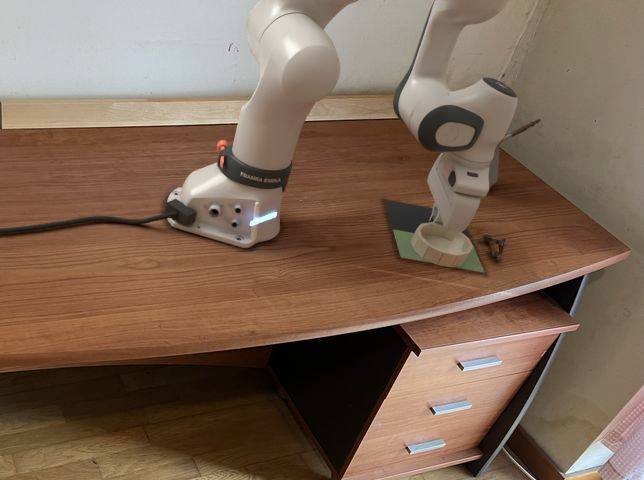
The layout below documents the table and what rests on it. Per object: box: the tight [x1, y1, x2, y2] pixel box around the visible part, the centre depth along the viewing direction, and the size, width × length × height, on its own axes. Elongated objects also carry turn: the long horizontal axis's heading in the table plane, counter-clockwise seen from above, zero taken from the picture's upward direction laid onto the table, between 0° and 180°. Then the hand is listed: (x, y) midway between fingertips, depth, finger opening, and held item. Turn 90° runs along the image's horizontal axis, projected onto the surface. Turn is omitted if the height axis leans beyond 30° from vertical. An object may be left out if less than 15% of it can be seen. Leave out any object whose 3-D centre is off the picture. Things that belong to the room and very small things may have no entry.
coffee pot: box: [489, 118, 544, 189], centre depth 166 cm, size 21×12×15 cm, turn 118°
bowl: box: [411, 222, 474, 269], centre depth 142 cm, size 11×11×3 cm
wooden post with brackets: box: [481, 233, 508, 262], centre depth 146 cm, size 2×8×4 cm, turn 1°
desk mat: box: [384, 199, 485, 273], centre depth 148 cm, size 17×22×1 cm
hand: (434, 225), depth 147 cm, fingers closed
